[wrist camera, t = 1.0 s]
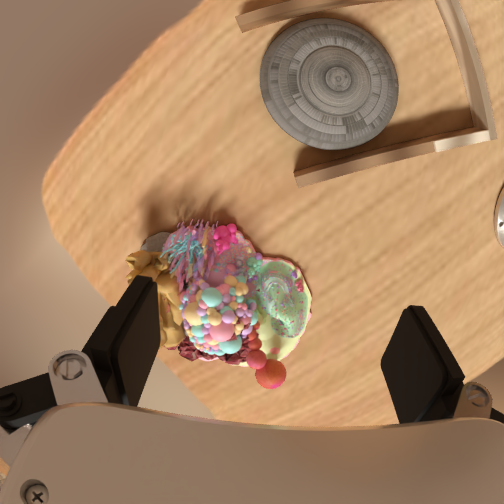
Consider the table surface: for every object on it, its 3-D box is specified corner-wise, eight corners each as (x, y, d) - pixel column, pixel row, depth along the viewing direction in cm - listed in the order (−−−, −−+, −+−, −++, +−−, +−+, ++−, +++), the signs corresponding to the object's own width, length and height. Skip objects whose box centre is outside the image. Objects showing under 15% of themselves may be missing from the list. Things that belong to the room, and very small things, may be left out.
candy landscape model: (149, 350, 49) (130, 391, 41) (124, 214, 39) (89, 244, 31) (302, 365, 48) (303, 411, 39) (322, 223, 37) (333, 257, 29)
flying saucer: (393, 151, 33) (411, 159, 28) (263, 148, 34) (260, 155, 29) (390, 28, 26) (407, 17, 21) (257, 21, 28) (253, 6, 23)
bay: (437, -10, 22) (450, -18, 19) (482, 134, 30) (497, 138, 26) (238, 23, 28) (234, 15, 25) (296, 181, 35) (298, 189, 32)
